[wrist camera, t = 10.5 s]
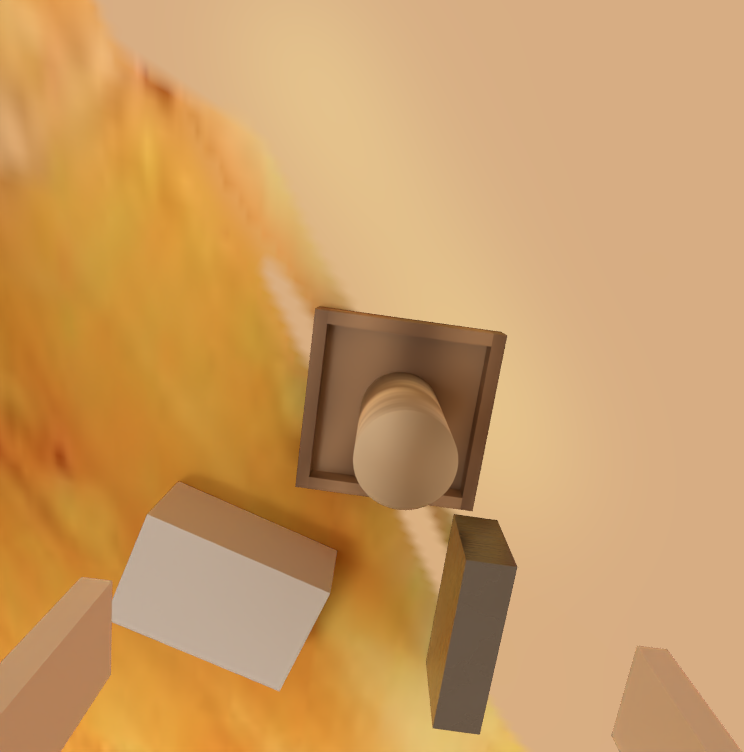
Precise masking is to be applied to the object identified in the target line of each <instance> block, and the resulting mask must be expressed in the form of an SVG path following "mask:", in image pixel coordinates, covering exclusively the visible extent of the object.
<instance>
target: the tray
mask: <svg viewBox="0 0 744 752" xmlns="http://www.w3.org/2000/svg"><path fill="white" fill-rule="evenodd" d="M506 338H507V335H505V334H504V333H502V332H498V331H490V330H483V329H476V328H469V327H462V326H455V325H447V324H440V323H433V322H426V321H419V320H412V319H404V318H397V317H391V316H383V315H376V314H369V313H362V312H355V311H348V310H341V309H333V308H326V307H317V308H316V309H315V316H314V325H313V334H312V343H311V352H310V361H309V370H308V379H307V388H306V397H305V406H304V415H303V424H302V433H301V442H300V451H299V460H298V468H297V477H296V486H295V487H301V488H309V489H316V490H323V491H330V492H338V493H345V494H352V495H359V496H366V497H370V496H368V495H367V494H366V492H365V491H364V490H363V489H362V487H361V486H360V484H359V482H358V481H357V478H356V475H355V472H354V468H353V453H354V447H355V441H356V434H357V428H358V422H359V415H360V409H361V403H362V399H363V396H364V394H365V392H366V390H367V389H368V387H369V386H370V385H371V384H372V383H373V382H374V381H375V380H376V379H378V378H379V377H381V376H383V375H386V374H389V373H393V372H406V373H411V374H414V375H416V376H418V377H420V378H422V379H423V380H424V381H425V382H427V383H428V384H429V386H430V387H431V388H432V390H433V391H434V393H435V395H436V398H437V400H438V402H439V405H440V407H441V410H442V412H443V415H444V417H445V419H446V422H447V424H448V427H449V429H450V432H451V434H452V436H453V439H454V441H455V444H456V447H457V452H458V469H457V473H456V476H455V478H454V481H453V483H452V484H451V486H450V487H449V489H448V490H447V491H446V492H445V493H444V494H443V495H442V496H441V497H440V498H439V499H438V500H436V501H435V502H433V503H431V504H429V505H432V506H439V507H446V508H453V509H461V510H468V511H473V506H474V501H475V495H476V490H477V485H478V480H479V475H480V470H481V465H482V460H483V455H484V449H485V444H486V439H487V435H488V430H489V425H490V419H491V414H492V409H493V404H494V399H495V394H496V389H497V383H498V379H499V374H500V368H501V363H502V359H503V354H504V349H505V343H506Z"/></svg>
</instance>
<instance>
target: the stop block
mask: <svg viewBox="0 0 744 752" xmlns="http://www.w3.org/2000/svg"><path fill="white" fill-rule="evenodd" d="M516 570H517V565H516V563H515V561H514V558H513V556H512V554H511V551H510V549H509V547H508V544H507V542H506V540H505V537H504V535H503V533H502V530H501V528H500V526H499V524H498V521H497V520H491V519H484V518H477V517H470V516H463V515H455V514H454V516H453V522H452V527H451V532H450V538H449V543H448V548H447V553H446V559H445V564H444V570H443V575H442V580H441V585H440V591H439V596H438V601H437V606H436V612H435V617H434V622H433V628H432V633H431V638H430V644H429V649H428V654H427V659H426V666H427V676H428V686H429V696H430V706H431V716H432V726H433V728H435V729H442V730H450V731H457V732H464V733H472V734H479V735H480V731H481V726H482V722H483V717H484V713H485V708H486V704H487V700H488V695H489V691H490V686H491V681H492V677H493V673H494V668H495V664H496V660H497V655H498V650H499V646H500V642H501V637H502V633H503V628H504V624H505V619H506V615H507V610H508V606H509V602H510V597H511V593H512V588H513V584H514V579H515V575H516Z"/></svg>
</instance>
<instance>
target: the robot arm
mask: <svg viewBox="0 0 744 752" xmlns="http://www.w3.org/2000/svg"><path fill="white" fill-rule="evenodd" d="M111 630H112V581H109V580H101V579H93V578H85V577H81V578H80V579H79V580H78V581H77V582H76V583H75V584H74V585H73V586H72V587H71V589H70V590H69V591H68V592H67V593H66V594H65V595H64V596H63V597H62V598H61V599H60V600H59V601H58V602H57V603H56V604H55V605H54V607H53V608H52V609H51V610H50V611H49V612H48V613H47V614H46V615H45V616H44V617H43V618H42V619H41V620H40V621H39V622H38V623H37V625H36V626H35V627H34V628H33V629H32V630H31V631H30V632H29V633H28V634H27V635H26V636H25V637H24V638H23V639H22V640H21V641H20V643H19V644H18V645H17V646H16V647H15V648H14V649H13V650H12V651H11V652H10V653H9V654H8V655H7V656H6V657H5V658H4V660H3V661H2V662H1V663H0V752H61V750H62V749H63V747H64V746H65V744H66V742H67V741H68V739H69V738H70V736H71V735H72V733H73V732H74V730H75V729H76V727H77V726H78V724H79V722H80V721H81V719H82V718H83V716H84V715H85V713H86V712H87V710H88V709H89V707H90V706H91V704H92V703H93V701H94V699H95V698H96V696H97V695H98V693H99V692H100V690H101V689H102V687H103V686H104V684H105V683H106V681H107V680H108V678H109V676H110V675H111ZM612 737H613V739H614V741H615V744H616V745H617V747H618V750H619V752H742V751H741V750H740V748H739V747H738V746H737V744H736V743H735V741H734V740H733V739H732V737H731V736H730V734H729V733H728V732H727V730H726V729H725V728H724V726H723V725H722V724H721V722H720V721H719V720H718V718H717V717H716V715H715V714H714V713H713V711H712V710H711V709H710V707H709V706H708V704H707V703H706V702H705V700H704V699H703V698H702V696H701V695H700V693H699V692H698V691H697V689H696V688H695V687H694V685H693V684H692V683H691V681H690V680H689V678H688V677H687V676H686V674H685V673H684V672H683V670H682V669H681V668H680V667H679V665H678V663H677V662H676V661H675V659H674V658H673V657H672V655H671V654H670V652H669V651H668V650H667V649H659V648H650V647H643V646H637V648H636V651H635V655H634V658H633V662H632V665H631V669H630V673H629V676H628V679H627V683H626V686H625V690H624V693H623V697H622V701H621V704H620V708H619V711H618V714H617V718H616V721H615V725H614V728H613V732H612Z"/></svg>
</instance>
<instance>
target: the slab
mask: <svg viewBox="0 0 744 752" xmlns="http://www.w3.org/2000/svg"><path fill="white" fill-rule="evenodd" d="M336 556H337V550H335V549H332V548H330V547H328V546H325V545H323V544H321V543H319V542H316V541H314V540H312V539H309V538H307V537H305V536H303V535H300V534H298V533H296V532H293V531H291V530H289V529H287V528H284V527H282V526H280V525H278V524H275V523H273V522H271V521H268V520H266V519H264V518H262V517H259V516H257V515H255V514H252V513H250V512H248V511H246V510H243V509H241V508H239V507H236V506H234V505H232V504H230V503H227V502H225V501H223V500H220V499H218V498H216V497H214V496H211V495H209V494H207V493H205V492H202V491H200V490H198V489H195V488H193V487H191V486H189V485H186V484H184V483H182V482H179V481H178V482H177V483H176V484H175V485H174V486H173V487H172V489H171V490H170V491H169V492H168V493H167V494H166V495H165V496H164V497H163V498H162V499H161V500H160V501H159V502H158V503H157V504H156V506H155V507H154V508H153V509H152V510H151V511H150V512H149V513H148V514H147V516H146V519H145V521H144V524H143V526H142V528H141V531H140V533H139V536H138V538H137V541H136V543H135V546H134V548H133V551H132V553H131V555H130V558H129V560H128V563H127V565H126V568H125V570H124V573H123V575H122V577H121V580H120V582H119V585H118V587H117V590H116V592H115V595H114V597H113V599H112V622H113V623H116V624H118V625H120V626H123V627H125V628H128V629H130V630H132V631H135V632H137V633H140V634H142V635H144V636H147V637H149V638H152V639H154V640H157V641H159V642H161V643H164V644H166V645H169V646H171V647H173V648H176V649H178V650H181V651H183V652H186V653H188V654H190V655H193V656H195V657H198V658H200V659H202V660H205V661H207V662H210V663H212V664H215V665H217V666H219V667H222V668H224V669H227V670H229V671H231V672H234V673H236V674H239V675H241V676H244V677H246V678H248V679H251V680H253V681H256V682H258V683H260V684H263V685H265V686H268V687H270V688H273V689H275V690H277V691H280V689H281V687H282V685H283V683H284V681H285V680H286V678H287V676H288V674H289V672H290V670H291V668H292V666H293V664H294V662H295V660H296V658H297V656H298V655H299V653H300V651H301V649H302V647H303V645H304V643H305V641H306V639H307V637H308V635H309V633H310V631H311V629H312V628H313V626H314V624H315V622H316V620H317V618H318V616H319V614H320V612H321V610H322V608H323V606H324V604H325V603H326V601H327V599H328V597H329V595H330V592H331V586H332V580H333V574H334V568H335V562H336Z"/></svg>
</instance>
